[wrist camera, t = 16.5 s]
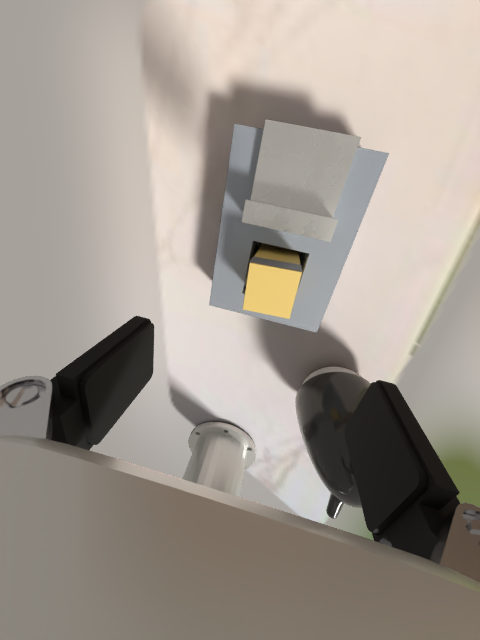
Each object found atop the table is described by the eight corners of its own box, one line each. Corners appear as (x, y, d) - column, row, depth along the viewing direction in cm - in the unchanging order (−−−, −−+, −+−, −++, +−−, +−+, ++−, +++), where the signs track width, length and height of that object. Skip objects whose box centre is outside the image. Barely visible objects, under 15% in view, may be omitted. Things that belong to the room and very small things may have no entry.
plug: (289, 283, 28) (290, 319, 20) (256, 276, 29) (242, 309, 20) (298, 248, 27) (302, 271, 18) (262, 242, 27) (249, 262, 18)
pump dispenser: (284, 398, 37) (281, 511, 23) (311, 344, 32) (326, 449, 18) (349, 419, 36) (383, 548, 23) (385, 368, 31) (457, 494, 18)
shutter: (324, 236, 21) (330, 242, 18) (248, 219, 21) (241, 222, 19) (358, 139, 18) (371, 127, 15) (266, 122, 18) (262, 107, 15)
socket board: (312, 313, 30) (316, 332, 25) (220, 290, 31) (209, 305, 26) (369, 163, 22) (388, 153, 18) (244, 138, 23) (234, 123, 19)
